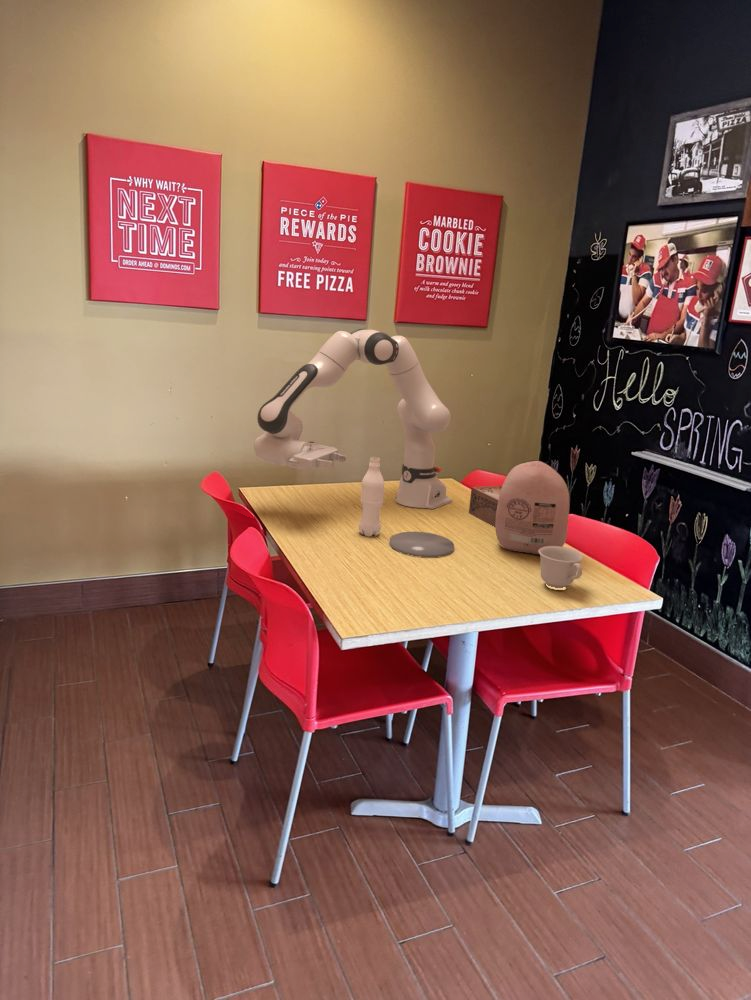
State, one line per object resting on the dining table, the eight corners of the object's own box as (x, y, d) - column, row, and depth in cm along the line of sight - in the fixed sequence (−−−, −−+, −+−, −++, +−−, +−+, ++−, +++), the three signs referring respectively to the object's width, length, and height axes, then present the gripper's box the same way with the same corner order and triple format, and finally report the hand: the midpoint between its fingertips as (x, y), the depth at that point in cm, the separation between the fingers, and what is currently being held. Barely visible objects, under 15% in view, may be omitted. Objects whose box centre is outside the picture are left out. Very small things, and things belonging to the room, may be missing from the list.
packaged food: (564, 548, 232) (578, 457, 223) (562, 569, 213) (577, 470, 205) (495, 537, 237) (507, 448, 228) (488, 556, 219) (500, 460, 210)
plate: (418, 531, 237) (419, 527, 237) (466, 549, 224) (467, 545, 224) (376, 542, 223) (376, 539, 223) (424, 562, 210) (425, 558, 210)
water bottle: (381, 531, 234) (387, 456, 227) (379, 538, 227) (385, 461, 220) (359, 529, 234) (364, 454, 227) (356, 536, 227) (362, 459, 220)
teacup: (557, 602, 189) (563, 567, 186) (524, 580, 202) (529, 547, 199) (594, 598, 194) (600, 563, 191) (559, 577, 207) (565, 544, 204)
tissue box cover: (468, 513, 262) (471, 487, 259) (501, 511, 268) (504, 485, 265) (510, 537, 239) (514, 508, 237) (545, 533, 246) (549, 505, 243)
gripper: (284, 450, 223) (324, 457, 219) (315, 440, 242) (352, 446, 237) (284, 470, 225) (323, 477, 220) (314, 458, 244) (351, 465, 239)
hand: (338, 461), depth 229 cm, fingers open, 8 cm apart
